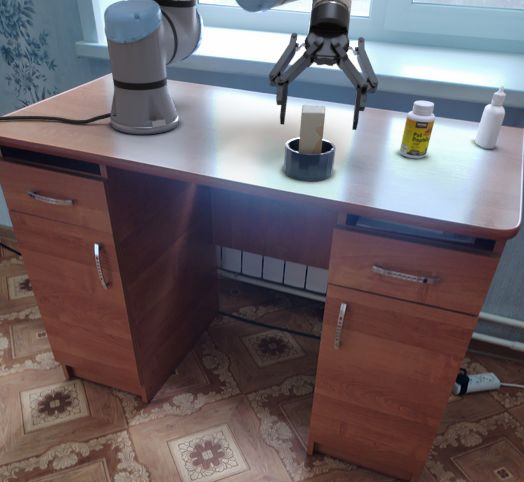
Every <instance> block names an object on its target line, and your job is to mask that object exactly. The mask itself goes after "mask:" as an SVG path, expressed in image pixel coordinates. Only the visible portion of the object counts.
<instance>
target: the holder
mask: <svg viewBox="0 0 524 482" xmlns="http://www.w3.org/2000/svg"><path fill="white" fill-rule="evenodd" d="M299 139H300V137H295V138H292V139H289V140H287V141H286V143H285V144H284V160H283V171H284V173H285V175H286V176H287V177H290V178H292V179H293V180H298V181H301V182H302V181H303V182H320V181H324V180H327V179H329V178H330V177H332V175H333V171H334V164H335V156H336V145H335V144H334V143H333V142H331V141H330V140H327V139H324V138H323V139H322V149H321V154H306V153H300V152H299Z"/></svg>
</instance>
